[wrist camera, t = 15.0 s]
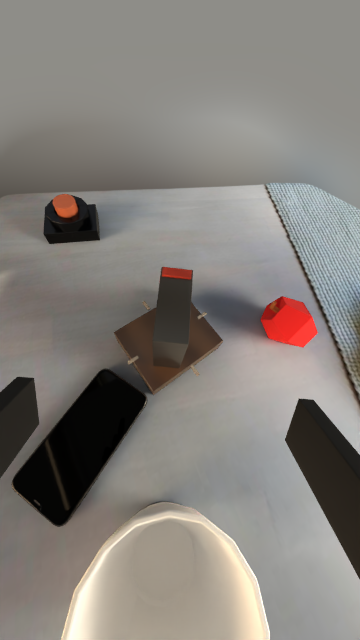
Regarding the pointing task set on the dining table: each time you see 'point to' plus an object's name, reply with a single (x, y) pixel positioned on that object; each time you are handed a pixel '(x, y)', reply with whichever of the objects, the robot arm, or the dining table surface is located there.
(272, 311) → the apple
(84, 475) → the smartphone
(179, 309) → the dark grey block
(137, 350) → the base
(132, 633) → the cup
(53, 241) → the button block
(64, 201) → the button
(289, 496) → the dining table surface
